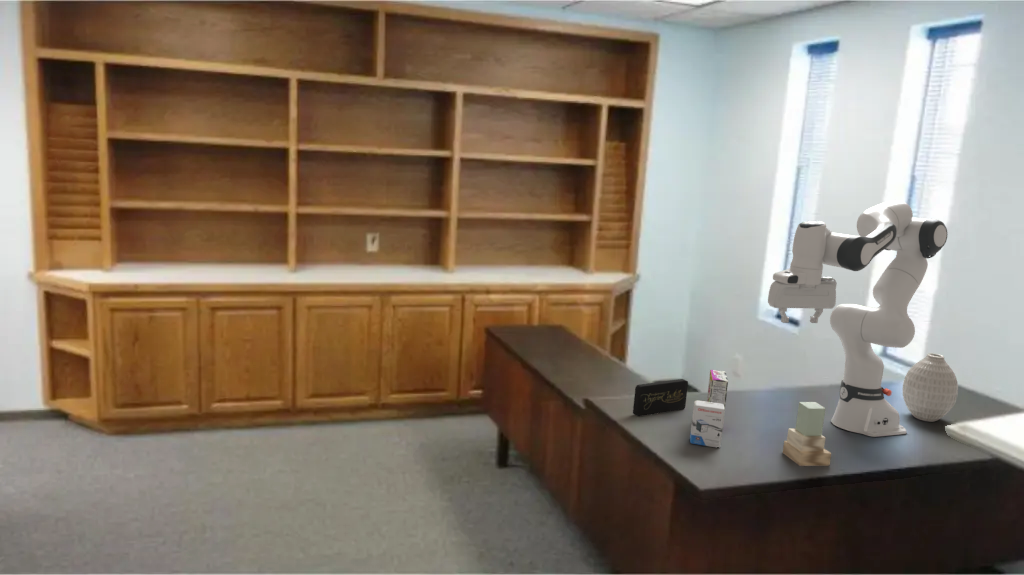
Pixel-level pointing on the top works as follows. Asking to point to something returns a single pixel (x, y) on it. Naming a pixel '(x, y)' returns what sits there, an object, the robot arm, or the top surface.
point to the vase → (930, 388)
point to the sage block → (810, 418)
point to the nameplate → (660, 397)
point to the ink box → (707, 423)
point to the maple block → (805, 441)
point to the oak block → (807, 456)
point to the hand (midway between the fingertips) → (799, 322)
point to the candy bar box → (717, 387)
